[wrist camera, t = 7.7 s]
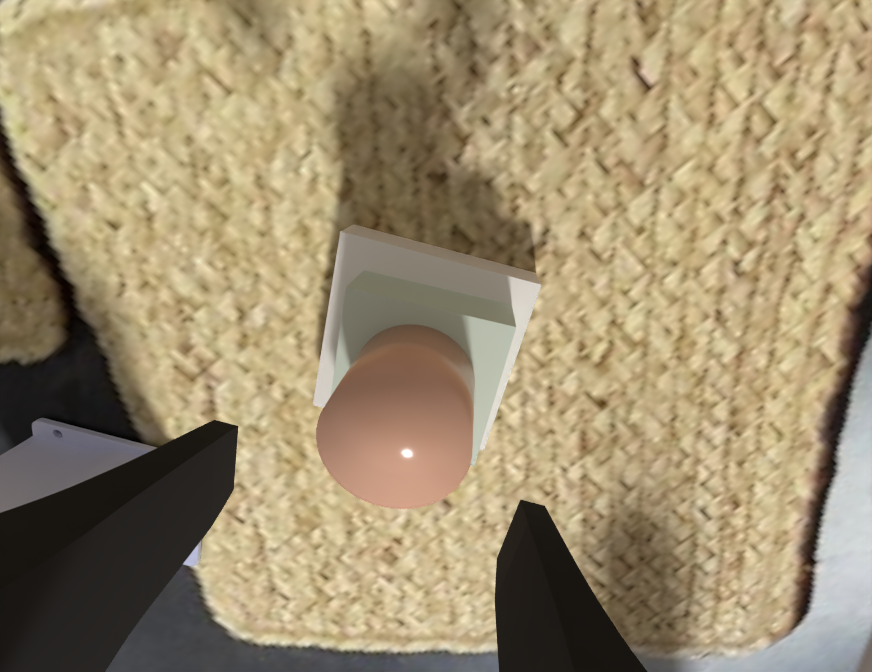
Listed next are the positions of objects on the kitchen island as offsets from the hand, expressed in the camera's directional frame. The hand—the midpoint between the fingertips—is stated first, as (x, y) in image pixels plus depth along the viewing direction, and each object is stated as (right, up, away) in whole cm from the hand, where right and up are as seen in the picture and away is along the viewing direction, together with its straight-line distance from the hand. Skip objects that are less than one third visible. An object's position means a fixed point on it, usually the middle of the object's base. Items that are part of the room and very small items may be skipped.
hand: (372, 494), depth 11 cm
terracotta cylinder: (+1, +2, +5) cm, 6 cm away
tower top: (+1, +3, +8) cm, 8 cm away
